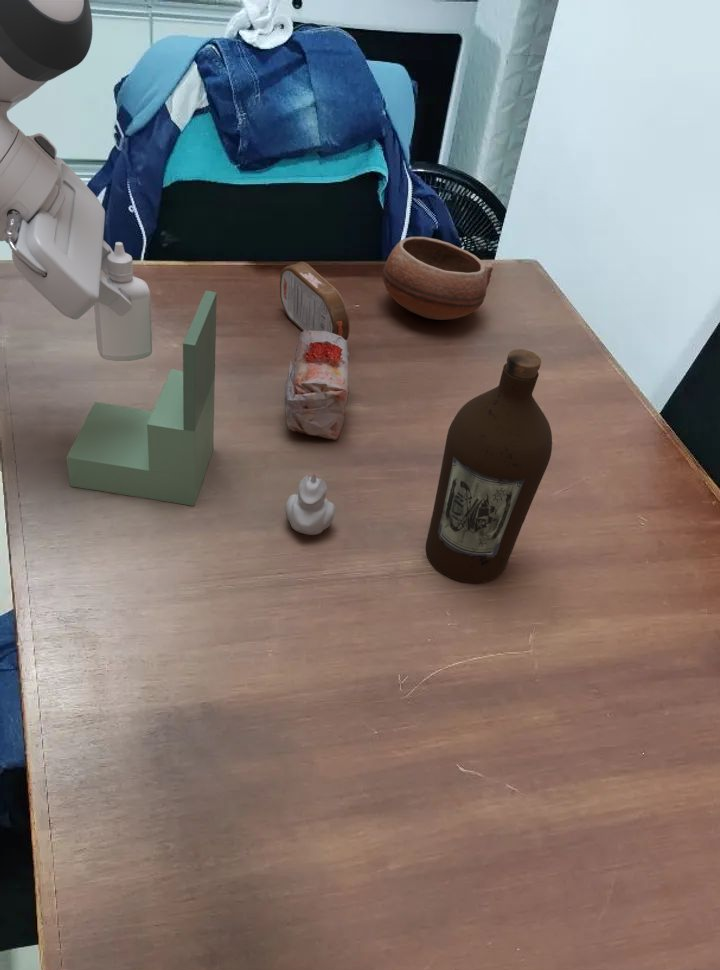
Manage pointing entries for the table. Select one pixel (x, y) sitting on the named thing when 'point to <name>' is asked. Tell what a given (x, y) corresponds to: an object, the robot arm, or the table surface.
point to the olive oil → (489, 475)
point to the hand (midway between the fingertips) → (127, 296)
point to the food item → (318, 385)
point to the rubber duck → (310, 507)
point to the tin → (312, 301)
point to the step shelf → (156, 429)
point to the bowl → (436, 278)
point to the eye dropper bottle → (132, 330)
